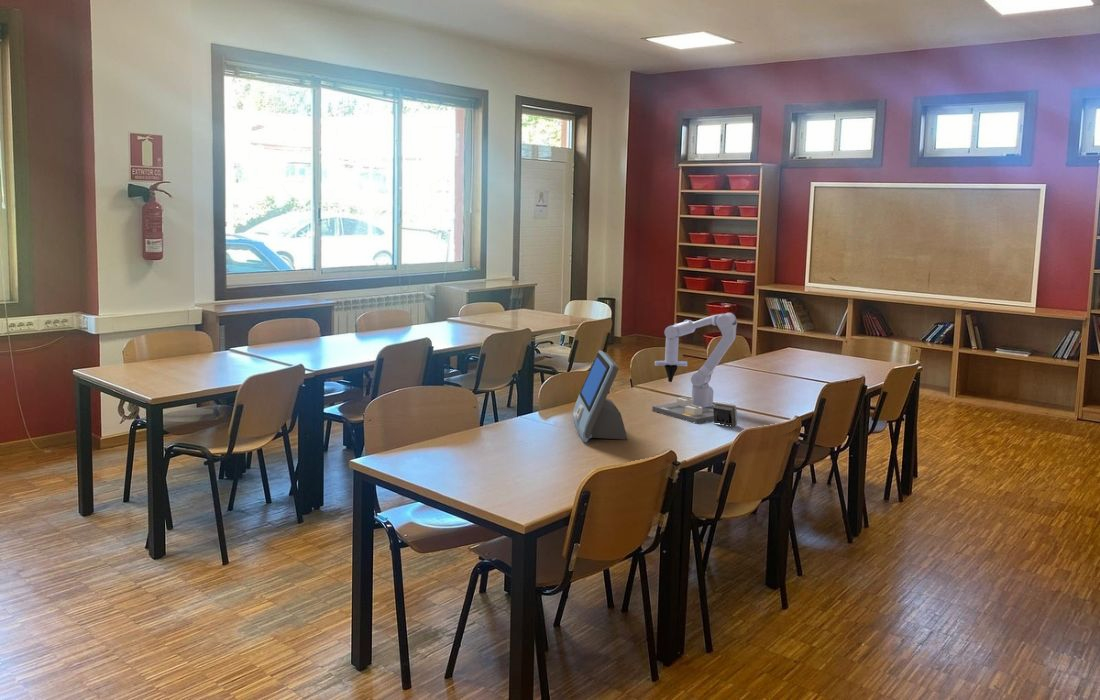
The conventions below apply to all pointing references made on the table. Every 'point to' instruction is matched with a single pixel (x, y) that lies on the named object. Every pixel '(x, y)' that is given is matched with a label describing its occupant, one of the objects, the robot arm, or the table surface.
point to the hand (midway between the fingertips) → (670, 381)
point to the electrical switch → (725, 413)
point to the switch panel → (679, 412)
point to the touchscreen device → (599, 403)
